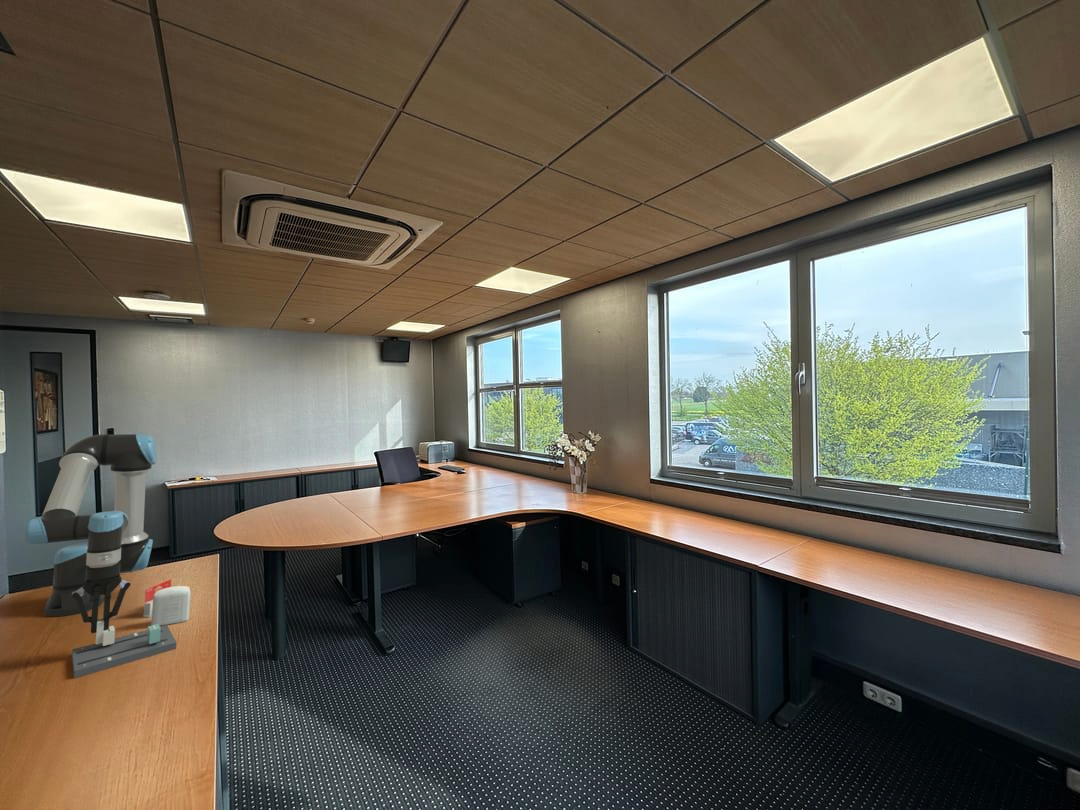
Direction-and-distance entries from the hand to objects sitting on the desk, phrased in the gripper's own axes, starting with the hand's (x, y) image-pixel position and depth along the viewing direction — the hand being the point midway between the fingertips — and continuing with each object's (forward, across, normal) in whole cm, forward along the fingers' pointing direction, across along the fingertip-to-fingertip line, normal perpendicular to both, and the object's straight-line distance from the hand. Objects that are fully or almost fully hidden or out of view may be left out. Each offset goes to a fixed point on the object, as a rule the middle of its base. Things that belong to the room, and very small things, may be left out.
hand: (99, 641), depth 133 cm
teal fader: (+1, +12, -8) cm, 14 cm away
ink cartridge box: (+4, +17, +25) cm, 30 cm away
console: (+4, +6, -4) cm, 8 cm away
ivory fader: (+1, +2, 0) cm, 2 cm away
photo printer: (+4, +18, +11) cm, 22 cm away
